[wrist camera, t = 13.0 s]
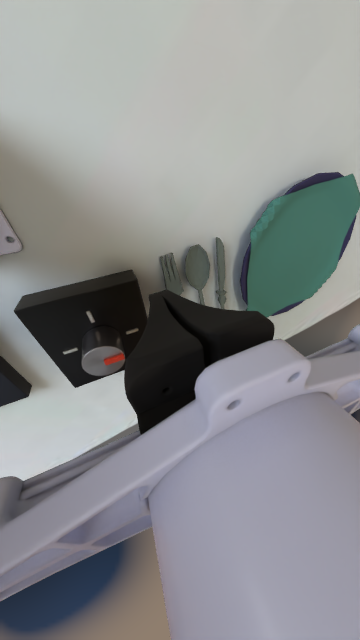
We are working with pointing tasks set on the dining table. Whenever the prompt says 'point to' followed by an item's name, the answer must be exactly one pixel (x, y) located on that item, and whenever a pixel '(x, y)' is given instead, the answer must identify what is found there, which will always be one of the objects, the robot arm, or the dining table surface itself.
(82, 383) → the dial panel
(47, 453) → the dining table surface
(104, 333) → the oven dial
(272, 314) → the green plate with cutlery
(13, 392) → the button housing
